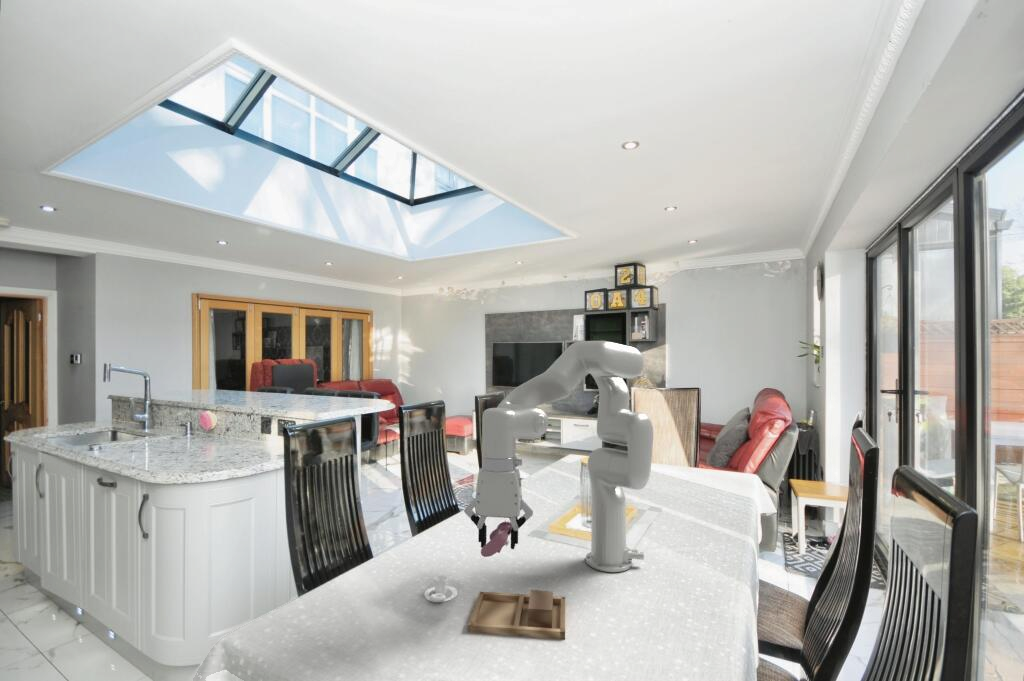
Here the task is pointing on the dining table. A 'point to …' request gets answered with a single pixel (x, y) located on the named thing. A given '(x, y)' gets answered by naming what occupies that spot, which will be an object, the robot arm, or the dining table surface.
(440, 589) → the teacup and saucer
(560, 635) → the oak organiser tray
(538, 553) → the dining table surface
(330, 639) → the dining table surface
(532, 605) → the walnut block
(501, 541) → the video game controller
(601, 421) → the robot arm
